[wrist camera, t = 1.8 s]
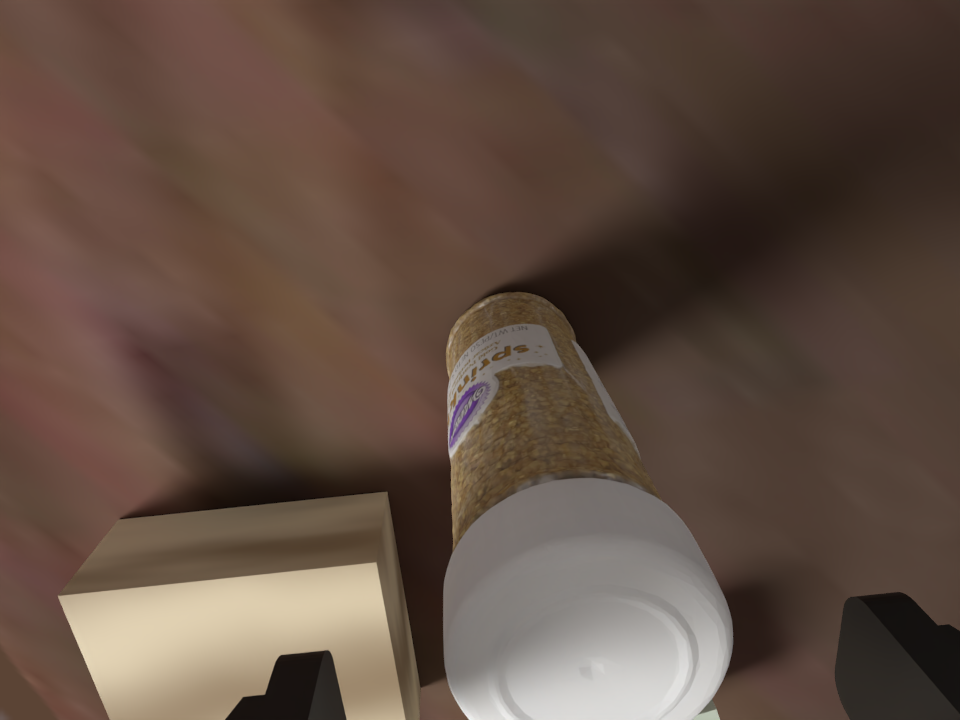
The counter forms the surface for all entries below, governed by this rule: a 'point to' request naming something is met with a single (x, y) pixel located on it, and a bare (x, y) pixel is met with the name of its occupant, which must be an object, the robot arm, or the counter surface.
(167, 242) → the counter surface
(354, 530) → the beech pedestal block
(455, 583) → the sprinkles bottle
